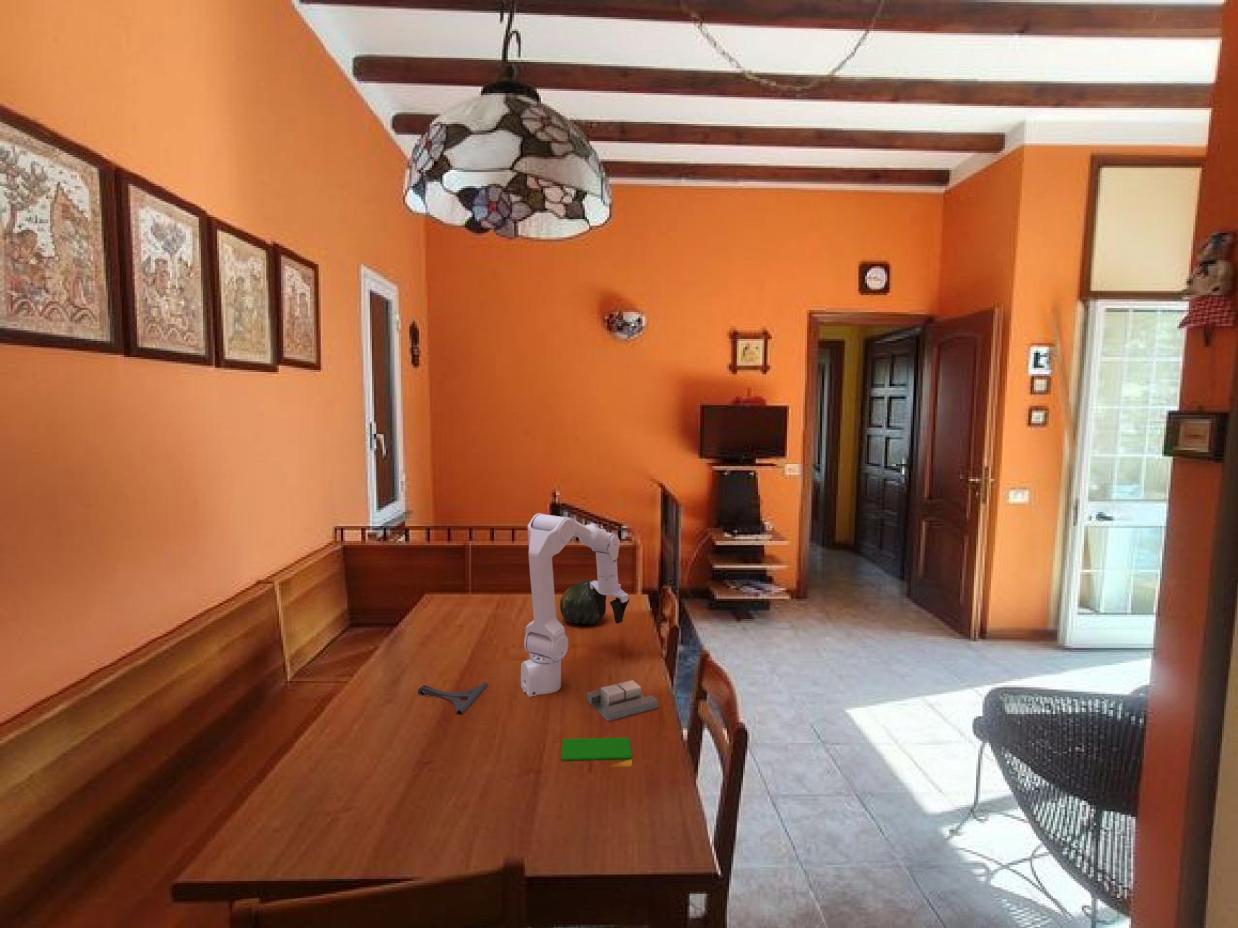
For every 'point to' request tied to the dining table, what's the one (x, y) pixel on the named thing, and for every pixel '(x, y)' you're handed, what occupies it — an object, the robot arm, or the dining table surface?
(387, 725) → the dining table surface
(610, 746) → the dish sponge
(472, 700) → the bracket
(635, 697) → the block
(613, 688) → the block
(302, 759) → the dining table surface
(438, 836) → the dining table surface
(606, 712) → the slot plate
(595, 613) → the squash
